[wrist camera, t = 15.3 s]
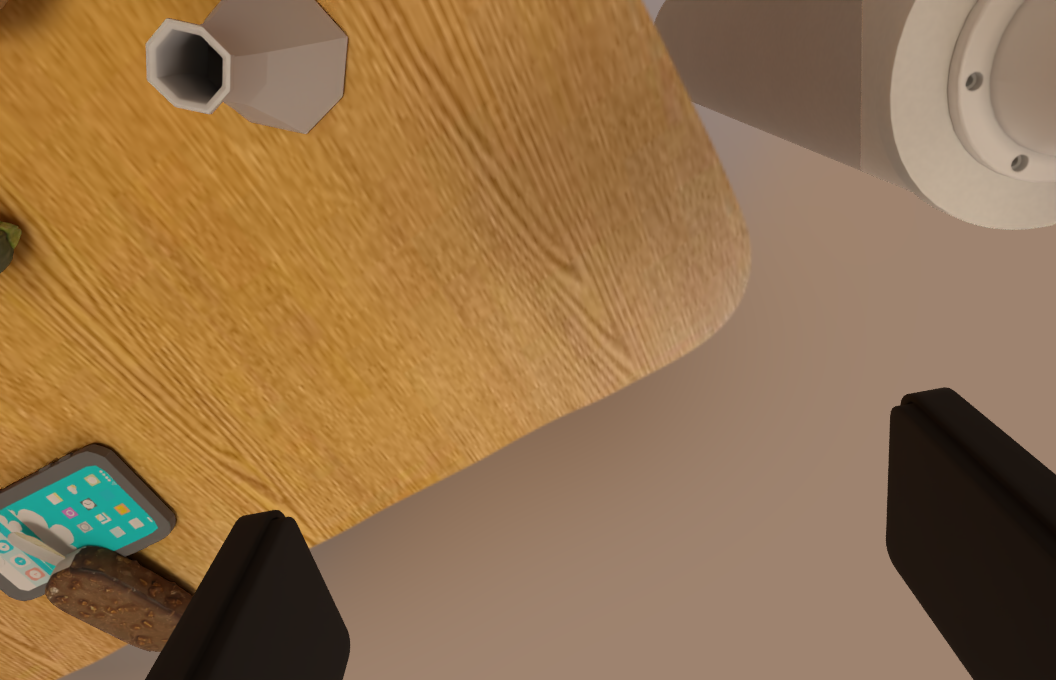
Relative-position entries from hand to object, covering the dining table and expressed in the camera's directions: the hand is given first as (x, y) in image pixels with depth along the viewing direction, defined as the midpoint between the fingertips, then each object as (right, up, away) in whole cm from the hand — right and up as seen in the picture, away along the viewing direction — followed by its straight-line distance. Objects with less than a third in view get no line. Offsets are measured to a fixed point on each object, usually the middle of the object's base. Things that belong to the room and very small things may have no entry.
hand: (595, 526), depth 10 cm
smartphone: (-34, -10, +36) cm, 50 cm away
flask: (-14, +17, +23) cm, 32 cm away
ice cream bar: (-36, -10, +33) cm, 50 cm away
